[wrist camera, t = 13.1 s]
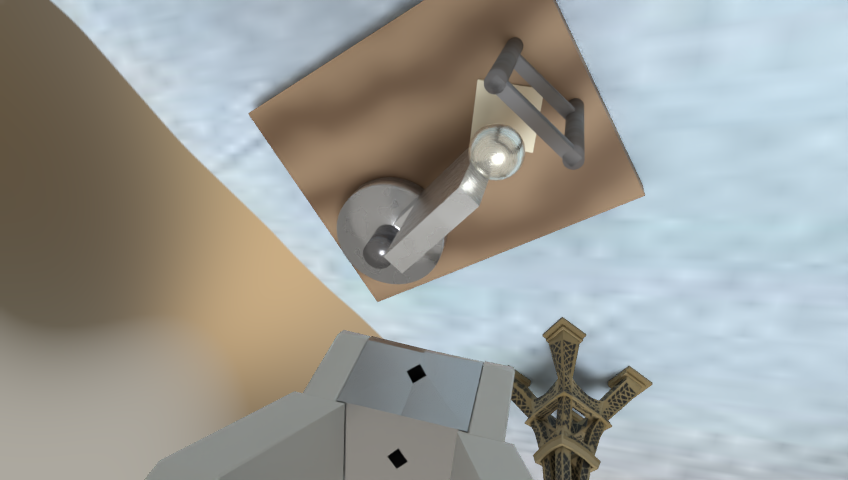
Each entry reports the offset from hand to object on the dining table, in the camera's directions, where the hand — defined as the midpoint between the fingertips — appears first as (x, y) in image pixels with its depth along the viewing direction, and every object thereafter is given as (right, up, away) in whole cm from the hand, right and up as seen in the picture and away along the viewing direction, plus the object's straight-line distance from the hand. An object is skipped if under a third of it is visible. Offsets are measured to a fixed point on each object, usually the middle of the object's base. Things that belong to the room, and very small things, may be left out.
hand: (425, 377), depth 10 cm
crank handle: (+1, +7, +37) cm, 38 cm away
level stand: (+1, +10, +38) cm, 39 cm away
